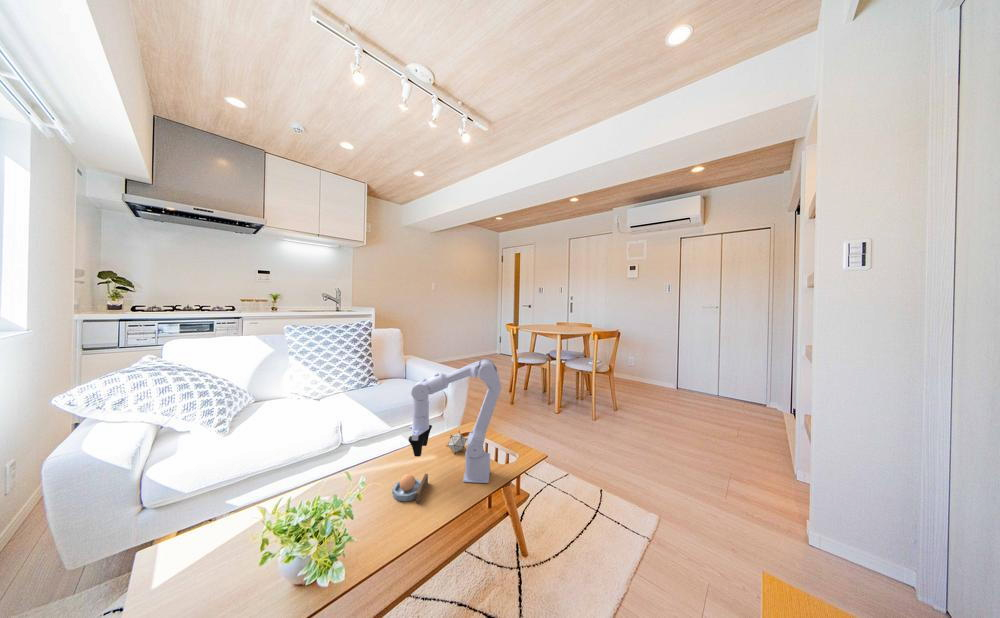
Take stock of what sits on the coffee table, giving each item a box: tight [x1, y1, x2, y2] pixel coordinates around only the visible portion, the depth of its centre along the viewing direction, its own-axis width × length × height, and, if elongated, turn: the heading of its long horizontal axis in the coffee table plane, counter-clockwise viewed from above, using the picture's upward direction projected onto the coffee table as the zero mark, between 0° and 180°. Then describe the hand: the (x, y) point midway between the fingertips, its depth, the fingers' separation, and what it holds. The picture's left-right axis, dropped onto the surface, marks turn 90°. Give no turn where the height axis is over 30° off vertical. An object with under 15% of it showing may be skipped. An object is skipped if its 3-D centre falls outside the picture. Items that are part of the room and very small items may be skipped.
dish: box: [391, 478, 421, 503], centre depth 105 cm, size 9×9×2 cm
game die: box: [445, 430, 467, 455], centre depth 133 cm, size 9×8×10 cm
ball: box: [399, 473, 416, 491], centre depth 105 cm, size 5×5×5 cm
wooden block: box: [415, 473, 429, 505], centre depth 105 cm, size 1×11×4 cm, turn 178°
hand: (420, 450), depth 113 cm, fingers open, 7 cm apart
